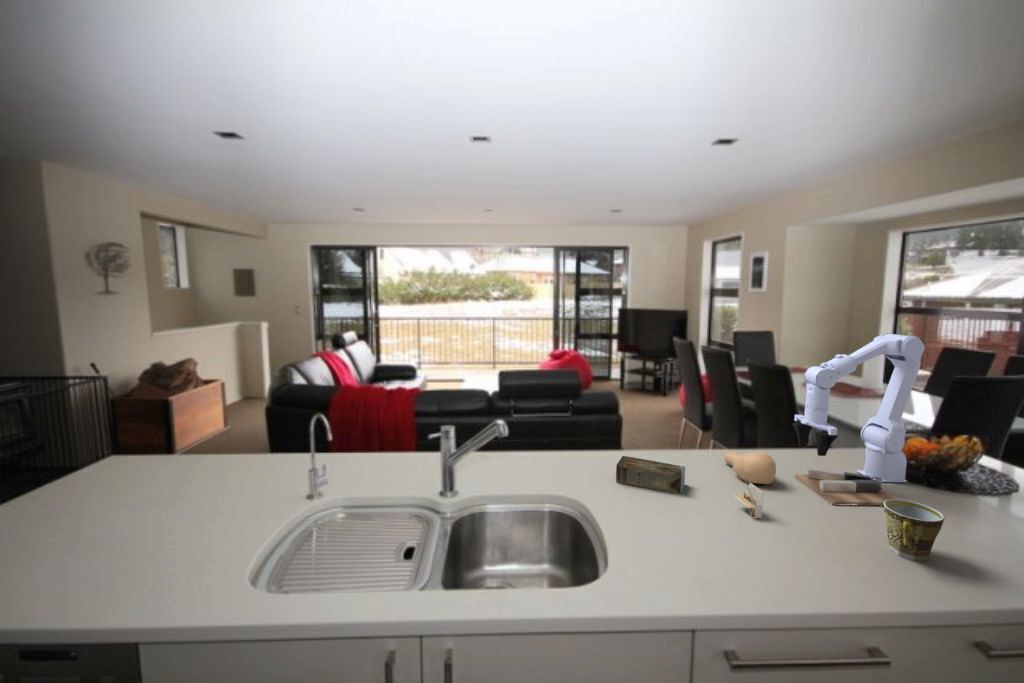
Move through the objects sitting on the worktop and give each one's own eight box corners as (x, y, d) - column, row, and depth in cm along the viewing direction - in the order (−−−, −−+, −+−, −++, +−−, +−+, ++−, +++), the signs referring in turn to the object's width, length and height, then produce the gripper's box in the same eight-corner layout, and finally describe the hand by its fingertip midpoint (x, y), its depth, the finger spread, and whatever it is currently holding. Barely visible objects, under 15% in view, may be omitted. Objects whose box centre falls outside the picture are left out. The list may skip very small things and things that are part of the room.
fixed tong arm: (873, 489, 130) (874, 480, 129) (878, 492, 128) (879, 482, 128) (819, 489, 131) (819, 479, 130) (823, 492, 129) (823, 482, 128)
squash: (753, 492, 132) (747, 461, 132) (715, 473, 152) (710, 446, 152) (787, 483, 133) (781, 453, 133) (746, 465, 153) (741, 439, 153)
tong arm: (880, 486, 131) (881, 477, 131) (882, 489, 129) (883, 480, 129) (807, 475, 140) (807, 466, 139) (807, 478, 138) (808, 469, 137)
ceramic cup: (884, 535, 108) (888, 495, 107) (942, 553, 101) (947, 510, 99) (872, 557, 100) (876, 513, 98) (934, 578, 92) (939, 531, 91)
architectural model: (749, 520, 116) (751, 492, 115) (733, 507, 123) (735, 481, 122) (762, 520, 117) (763, 492, 116) (745, 507, 123) (747, 480, 123)
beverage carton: (681, 496, 130) (682, 473, 129) (614, 483, 138) (614, 462, 138) (685, 485, 137) (685, 463, 136) (621, 473, 145) (621, 453, 145)
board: (858, 478, 140) (859, 475, 140) (906, 506, 122) (906, 502, 122) (794, 477, 141) (795, 474, 141) (832, 505, 123) (832, 501, 123)
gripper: (787, 401, 144) (783, 442, 145) (823, 413, 129) (818, 460, 131) (807, 400, 144) (803, 442, 146) (845, 413, 130) (840, 459, 132)
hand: (811, 450), depth 139 cm, fingers open, 7 cm apart
